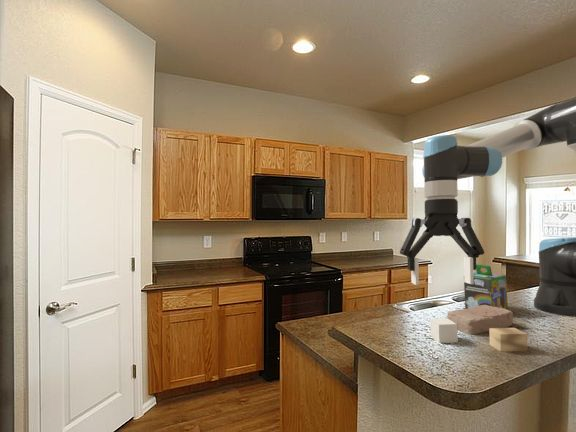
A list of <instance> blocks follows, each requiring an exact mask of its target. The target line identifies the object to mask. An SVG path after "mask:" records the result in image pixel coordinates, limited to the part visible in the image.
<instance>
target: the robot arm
mask: <svg viewBox="0 0 576 432" xmlns="http://www.w3.org/2000/svg"><path fill="white" fill-rule="evenodd" d="M563 142H566V146H567V147H568V148H570V149H572V150H573V151H574V152H575V153H574V154H576V96H575V97H572V98H570V99H566V100H564V101H561V102H558V103H556V104H555V103H554V104H552V105H550V106H547V107H546V108H544V109H541V110H539V111H538V112H536V113H534V114H532V115H530V116H528V117H527V118H523V119H522V120H519V121H518V122H516V123H515V124H514V125H513V126H512V127H510V128H508V129H505V130H503V131H501V132H498V133H495V134H493V135H490V136H488V137H486V138H483V139H480V140H478V141H474V142H473V143H469V144H468V145H458V140H457V137H456V136H454V135H450V134H449V135H448V134H444V135H443V134H442V135H436V136H432V137H429V138H427V139H426V140H425V142H424V146H423V147H424V148H423V165H422V166H423V167H422V170H421V171H422V176H423V178H424V182H423V184H424V198H425V200H424V219H422V218H419V217H416V218H415V217H414V218H412V221H411V227H410V229H409V232H408V233H407V236H406V237H405V240H404V241H403V244H402V246H401V247H400V249H399V254H400V255H402V256H405V257H406V258H407V269H408V271H411V273H410V275H411V277H410V278H411V281H410V283H411V284H413V285H415V286H419V285H420V282H419V281H420V280H419V279H420V278H419V275H420V273H419V272H420V271H419V270H420V269H419V264H420V263H419V257H416V256H417V255H418V254H419V253H420V251H421V250H422V249H423V248H424V247H425V245H426V244H427V243H428V242H429V241H430V240H431V238H433V237H441V236H442V237H443V236H445V237H451V239H453V240H454V242H455V243H456V244H457V245H458V246H459V247H460V248H461V250H462V251H463V252H464V253H465V254H466V256H463V283H464V282H466V283H468V284H474V283H473V273H474V271H476V264H477V259H478V258H479V257H480V255H482V256H483V255H484V254H485V250H484V248H483V246H482V244H481V243H480V240H479V238H478V237H477V234H476V232H475V230H474V229H473V226H472V220H471V218H470V217H461V218H458V213H459V211H458V210H459V205H458V204H459V203H458V202H459V201H458V200H457V199H456V198H457V197H458V196H459V195H458V194H459V191H458V180H460V179H466V178H472V177H473V178H474V177H481V178H483V177H492V176H494V175H496V174H497V173H498V172H499V171H500V169H501V167H502V165H503V158H505V157H508V156H510V155H513V154H516V153H517V152H520V151H523V150H524V151H530V150H534V149H535V148H539V147H542V146H548V145H552V144H554V145H555V144H559V143H563ZM423 225H424V227H426V229H425V230H424V231H423V232H422V233H421V234H422V235H421V236H420V237H419V238H418V239H417V240H416V238H417V236H418V234H419V232H420V229H421V228H422V227H423ZM458 226H460V227H461V229H462V231H463V234H464V235H465V237H466V239H465V238H464V236H463V235H462V234H461V232H460V231H459V230H458V229H457V227H458ZM415 240H416V242H415ZM414 242H415V243H414ZM538 247H539V248H538V260H539V261H538V262H539V266H538V267H539V268H538V269H539V286H538V288H537V292H536V293H535V297H534V299H533V307H534V308H535V309H537V310H540V311H543V312H547V313H551V314H557V315H562V316H569V317H576V237H562V238H561V237H560V238H544V239H543V240H541V241H540V242H539V245H538Z"/></svg>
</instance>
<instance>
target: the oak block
mask: <svg viewBox="0 0 576 432" xmlns="http://www.w3.org/2000/svg"><path fill="white" fill-rule="evenodd" d="M488 332H489V345H490V346H491V347H493V348H495V349H496V350H498V351H499V352H527V351H528V333H526V332H524V331H522V330H519V329H518V328H516V327H506V328H489V331H488Z"/></svg>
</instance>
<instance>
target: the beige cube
mask: <svg viewBox="0 0 576 432" xmlns="http://www.w3.org/2000/svg"><path fill="white" fill-rule="evenodd" d="M429 320H430V321H429V322H430V337H431V338H432V339H434V340H435V341H436V342H437V343H438V344H448V343H449V344H450V343H453V344H454V342H455V343H458V339H459V338H458V330H457V324H456V323H454V322H453V321H451V320H449V319H447V318H430V319H429Z"/></svg>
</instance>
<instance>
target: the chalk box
mask: <svg viewBox="0 0 576 432" xmlns="http://www.w3.org/2000/svg"><path fill="white" fill-rule="evenodd" d="M482 269H485V270H486V271H482ZM475 271H476V272H473V283H474V284H468V283H466V282H464V281H463V289H464V309H468V308H473V307H475V306H480V305H488V306H492V307H498V308H503V309H506V310H509V304H508V303H509V302H508V287H507V275H506V274H500V273H493V272H492V268H491V266H490V265H487V264H479V263H478V264H477V263H476V270H475Z"/></svg>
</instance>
